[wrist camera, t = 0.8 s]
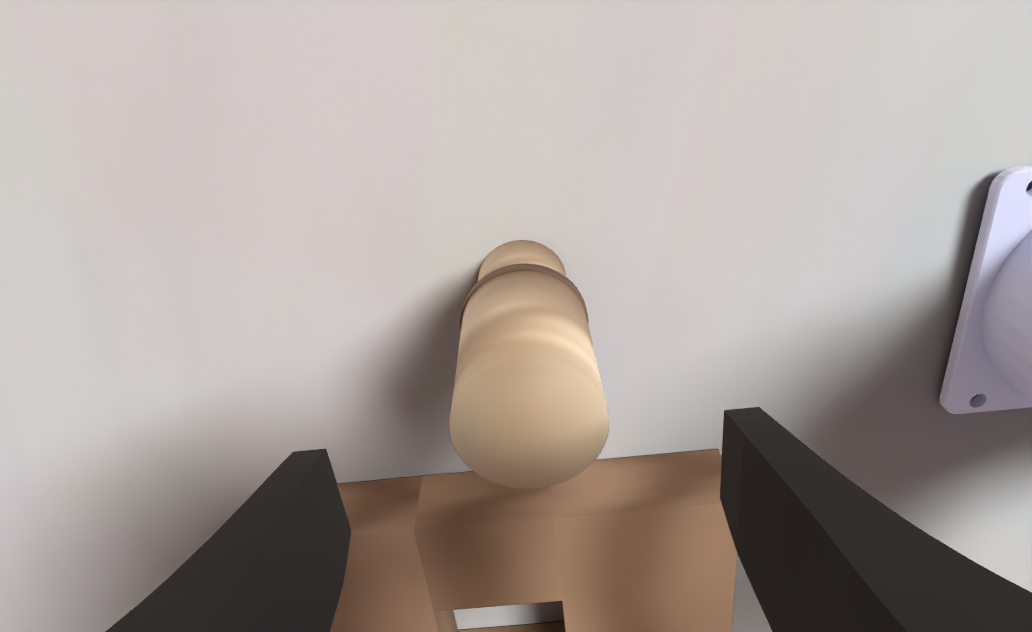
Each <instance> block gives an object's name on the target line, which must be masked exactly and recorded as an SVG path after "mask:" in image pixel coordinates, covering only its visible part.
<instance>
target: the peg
mask: <svg viewBox="0 0 1032 632" xmlns="http://www.w3.org/2000/svg"><path fill="white" fill-rule="evenodd" d="M460 330H461V335H460V342H459V350H458V358H457V366H456V374H455V382H454V389H453V397H452V405H451V413H450V423H449V429H450V437H451V440H452V444H453V446H454V448H455V450H456V452H457V454H458V455H459V457H460V458H461V460H462V461H463V462H464V463H465V464H466V465H467V466H468V467H469V468H470V469H471V470H472V471H474V472H475V473H476V474H478V475H479V476H481V477H483V478H485V479H487V480H489V481H491V482H493V483H496V484H499V485H503V486H506V487H512V488H520V489H537V488H544V487H549V486H553V485H557V484H560V483H562V482H565V481H567V480H569V479H571V478H573V477H575V476H577V475H578V474H580V473H581V472H583V471H584V470H585V469H586V468H588V467H589V466H590V465H591V464H592V463H593V462H594V461H595V460H596V458H597V457H598V456H599V454H600V453H601V451H602V449H603V447H604V445H605V443H606V440H607V437H608V432H609V415H608V409H607V405H606V401H605V396H604V392H603V388H602V383H601V379H600V375H599V370H598V366H597V362H596V357H595V353H594V349H593V344H592V340H591V336H590V331H589V327H588V314H587V310H586V306H585V303H584V300H583V298H582V296H581V294H580V292H579V291H578V289H577V288H576V286H575V285H574V284H573V283H572V282H571V281H570V280H569V279H568V278H566V273H565V270H564V266H563V264H562V262H561V261H560V259H559V257H558V256H557V255H556V254H555V253H554V252H553V251H552V250H551V249H549V248H548V247H546V246H544V245H542V244H540V243H537V242H533V241H527V240H517V241H511V242H508V243H505V244H503V245H501V246H499V247H497V248H496V249H494V250H493V251H492V252H491V253H490V254H489V255H488V256H487V257H486V258H485V260H484V261H483V263H482V265H481V268H480V270H479V275H478V282H477V283H476V284H475V285H474V286H473V288H472V289H471V290H470V292H469V293H468V295H467V297H466V299H465V301H464V304H463V307H462V312H461V320H460Z"/></svg>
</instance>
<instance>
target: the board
mask: <svg viewBox="0 0 1032 632" xmlns="http://www.w3.org/2000/svg"><path fill="white" fill-rule="evenodd" d="M721 462H722V457H721V455H720V453H719V450H718V449H712V450H701V451H690V452H679V453H668V454H657V455H646V456H636V457H625V458H614V459H603V460H595V461H594V462H593V463H592V464H591V465H590V466H589V467H588V468H586V469H585V470H584V471H583V472H581V473H580V474H578V475H577V476H575V477H573V478H571V479H569V480H567V481H565V482H562V483H560V484H557V485H553V486H549V487H544V488H537V489H520V488H512V487H506V486H503V485H499V484H496V483H493V482H491V481H489V480H487V479H485V478H483V477H481V476H479V475H478V474H476V473H475V472H474V471H472V472H461V473H450V474H439V475H429V476H418V477H407V478H396V479H385V480H374V481H363V482H352V483H341V484H337V486H338V489H339V492H340V495H341V499H342V502H343V505H344V508H345V512H346V515H347V518H348V521H349V524H350V528H351V537H350V544H349V552H348V559H347V565H346V571H345V577H344V583H343V587H342V590H341V594H340V598H339V601H338V605H337V608H336V612H335V615H334V619H333V623H332V626H331V630H330V632H732V621H733V607H734V593H735V580H736V566H737V551H736V548H735V545H734V542H733V539H732V536H731V533H730V530H729V526H728V523H727V520H726V516H725V513H724V510H723V506H722V503H721V500H720V482H721ZM553 601H562V603H563V612H564V621H565V622H553V623H541V624H529V625H517V626H505V627H492V628H480V629H468V630H457V625H456V621H455V616H454V612H453V610H457V609H469V608H481V607H493V606H505V605H517V604H529V603H541V602H553Z"/></svg>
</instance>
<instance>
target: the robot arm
mask: <svg viewBox="0 0 1032 632" xmlns="http://www.w3.org/2000/svg"><path fill="white" fill-rule="evenodd" d="M1031 181H1032V165H1030V166H1021V167H1012V168H1009V169H1005V170H1004V171H1002V172H1001V173H999V174H998V175H997V176H996V177H995V179H994V180H993V181H992V184H991V186H990V189H989V193H988V197H987V201H986V205H985V210H984V214H983V218H982V222H981V226H980V231H979V235H978V239H977V243H976V247H975V252H974V256H973V260H972V264H971V268H970V273H969V277H968V281H967V285H966V289H965V294H964V298H963V302H962V306H961V310H960V314H959V319H958V323H957V327H956V331H955V335H954V340H953V344H952V348H951V352H950V356H949V361H948V365H947V369H946V373H945V377H944V382H943V386H942V390H941V394H940V404H941V405H942V406H943V407H944V408H945V409H946V410H947V411H948V412H950V413H952V414H965V413H976V412H987V411H998V410H1009V409H1019V408H1030V407H1032V188H1031V189H1030V190H1029V191H1026V188H1027V186H1028V184H1029V183H1030V182H1031ZM975 395H977V397H975V398H974V399H972V400H971V398H973V397H974V396H975ZM720 500H721V503H722V506H723V510H724V513H725V516H726V520H727V523H728V526H729V530H730V533H731V536H732V539H733V542H734V545H735V548H736V551H737V553H738V555H739V558H740V560H741V562H742V565H743V567H744V569H745V571H746V574H747V576H748V578H749V580H750V583H751V585H752V587H753V589H754V592H755V594H756V596H757V598H758V600H759V603H760V605H761V607H762V609H763V611H764V614H765V616H766V618H767V620H768V622H769V625H770V627H771V629H772V631H773V632H1032V593H1031V592H1029V591H1028V590H1026V589H1024V588H1022V587H1020V586H1018V585H1016V584H1014V583H1012V582H1010V581H1008V580H1006V579H1004V578H1002V577H1001V576H999V575H997V574H995V573H993V572H992V571H990V570H988V569H986V568H984V567H983V566H981V565H979V564H977V563H975V562H974V561H972V560H970V559H968V558H967V557H965V556H963V555H962V554H960V553H958V552H957V551H955V550H953V549H952V548H950V547H948V546H947V545H945V544H943V543H942V542H940V541H938V540H937V539H935V538H933V537H932V536H930V535H928V534H927V533H925V532H924V531H922V530H921V529H919V528H918V527H916V526H914V525H913V524H911V523H910V522H908V521H907V520H905V519H904V518H902V517H901V516H899V515H898V514H897V513H895V512H894V511H892V510H891V509H889V508H888V507H886V506H885V505H884V504H882V503H881V502H879V501H878V500H876V499H875V498H873V497H872V496H871V495H869V494H868V493H866V492H865V491H864V490H862V489H861V488H860V487H858V486H857V485H856V484H854V483H853V482H851V481H850V480H849V479H848V478H846V477H845V476H844V475H842V474H841V473H840V472H838V471H837V470H836V469H834V468H833V467H832V466H831V465H829V464H828V463H827V462H825V461H824V460H823V459H822V458H820V457H819V456H818V455H817V454H815V453H814V452H813V451H812V450H810V449H809V448H808V447H807V446H806V445H804V444H803V443H802V442H801V441H799V440H798V439H797V438H796V437H795V436H793V435H792V434H791V433H790V432H789V431H787V430H786V429H785V428H784V427H783V426H781V425H780V424H779V423H778V422H777V421H775V420H774V419H773V418H772V417H771V416H769V415H768V414H767V413H766V412H764V411H763V410H762V409H761V408H759V407H754V408H744V409H733V410H724V424H723V443H722V462H721V482H720ZM350 537H351V528H350V524H349V521H348V518H347V515H346V512H345V508H344V505H343V502H342V499H341V495H340V492H339V489H338V486H337V483H336V479H335V476H334V473H333V470H332V466H331V463H330V460H329V457H328V453H327V450H326V449H318V450H307V451H297V452H293V453H292V454H291V455H290V456H289V457H288V458H287V459H286V460H285V461H284V462H283V463H282V464H281V465H280V466H279V467H278V468H277V469H276V470H275V471H274V472H273V473H272V474H271V475H270V476H269V477H268V478H267V480H266V481H265V482H264V483H263V484H262V485H261V486H260V487H259V488H258V489H257V490H256V491H255V492H254V493H253V494H252V496H251V497H250V498H249V499H248V500H247V501H246V502H245V503H244V504H243V505H242V506H241V507H240V508H239V509H238V510H237V511H236V512H235V513H234V514H233V515H232V516H231V517H230V518H229V520H228V521H227V522H226V523H225V524H224V525H223V526H222V527H221V528H220V529H219V530H218V531H217V532H216V533H215V534H214V535H213V536H212V537H211V538H210V539H209V540H208V541H207V542H206V543H205V544H204V545H203V546H202V547H200V548H199V549H198V550H197V551H196V552H195V553H194V554H193V555H192V556H191V557H190V558H189V559H188V560H187V561H186V562H185V563H184V564H183V565H182V566H181V567H180V568H179V569H177V570H176V571H175V572H174V573H173V574H172V575H171V576H170V577H169V578H168V579H167V580H166V581H165V582H164V583H163V584H161V585H160V586H159V587H158V588H157V589H156V590H155V591H154V592H153V593H151V594H150V595H149V596H148V597H147V598H146V599H144V600H143V601H142V602H141V603H140V604H139V605H138V606H136V607H135V608H134V609H133V610H131V611H130V612H129V613H128V614H127V615H125V616H124V617H123V618H122V619H121V620H119V621H118V622H117V623H116V624H114V625H113V626H112V627H111V628H110V629H108V630H107V631H106V632H330V630H331V626H332V623H333V619H334V615H335V612H336V608H337V605H338V601H339V598H340V594H341V590H342V587H343V583H344V577H345V571H346V565H347V559H348V552H349V544H350Z"/></svg>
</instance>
